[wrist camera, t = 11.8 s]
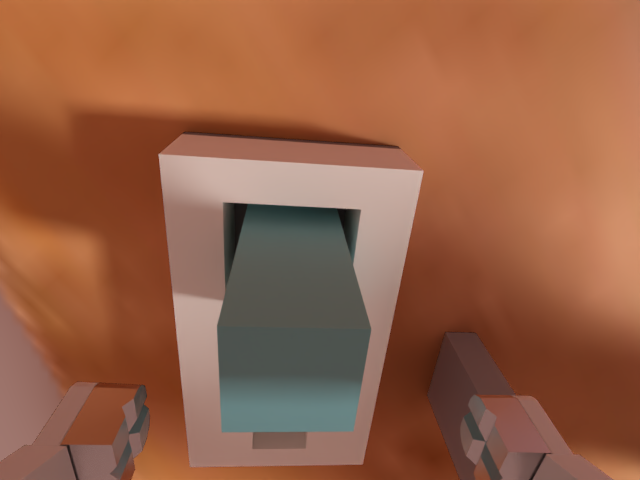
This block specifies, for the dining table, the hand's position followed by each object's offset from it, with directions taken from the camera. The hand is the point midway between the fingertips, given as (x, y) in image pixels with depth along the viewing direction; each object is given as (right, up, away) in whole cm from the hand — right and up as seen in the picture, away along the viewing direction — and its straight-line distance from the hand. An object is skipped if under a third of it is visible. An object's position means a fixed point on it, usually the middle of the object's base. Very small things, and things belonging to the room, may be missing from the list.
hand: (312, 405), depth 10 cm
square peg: (-1, +5, +10) cm, 11 cm away
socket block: (-2, +1, +12) cm, 13 cm away
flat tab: (+9, -4, +16) cm, 19 cm away
